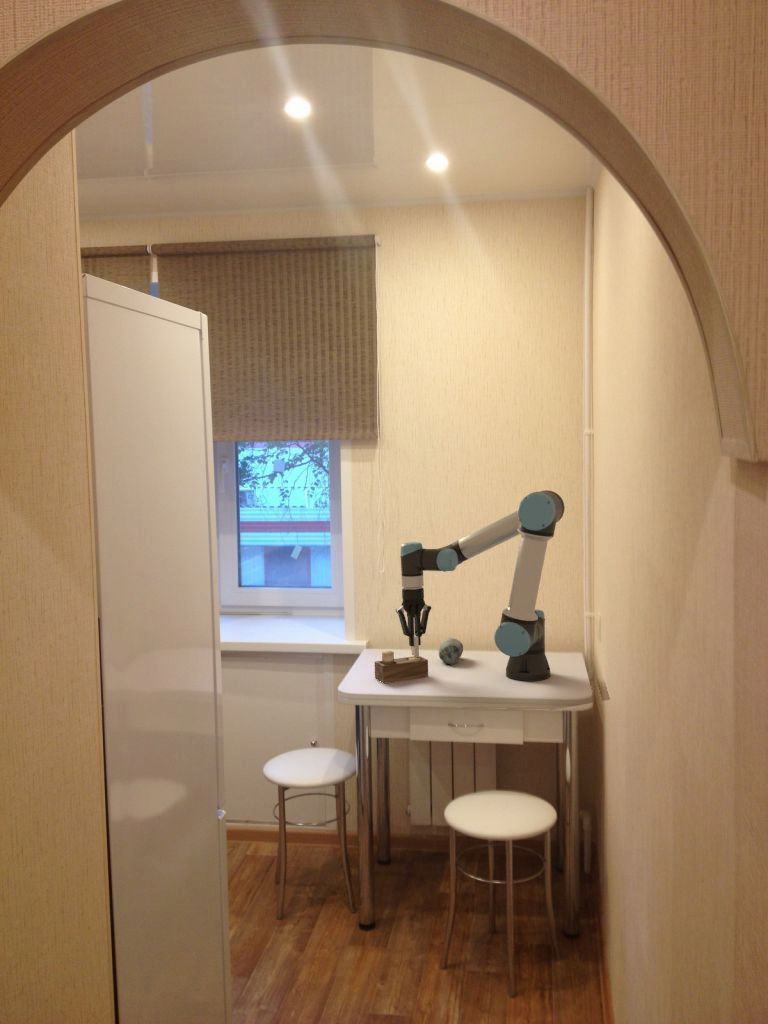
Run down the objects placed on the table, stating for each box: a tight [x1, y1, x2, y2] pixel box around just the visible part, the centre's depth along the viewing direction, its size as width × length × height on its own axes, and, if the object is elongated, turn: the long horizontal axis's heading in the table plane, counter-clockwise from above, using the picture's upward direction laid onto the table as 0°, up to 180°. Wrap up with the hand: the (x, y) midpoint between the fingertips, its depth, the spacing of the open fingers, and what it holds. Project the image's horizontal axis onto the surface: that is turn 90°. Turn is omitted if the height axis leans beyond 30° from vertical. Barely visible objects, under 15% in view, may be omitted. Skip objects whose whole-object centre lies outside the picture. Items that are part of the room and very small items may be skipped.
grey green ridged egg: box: [438, 637, 464, 665], centre depth 330 cm, size 14×10×10 cm
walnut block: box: [374, 655, 429, 684], centre depth 308 cm, size 7×17×6 cm, turn 115°
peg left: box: [381, 650, 395, 665], centre depth 306 cm, size 4×4×5 cm
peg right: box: [409, 658, 420, 661], centre depth 310 cm, size 4×4×5 cm
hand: (415, 655), depth 310 cm, fingers closed
